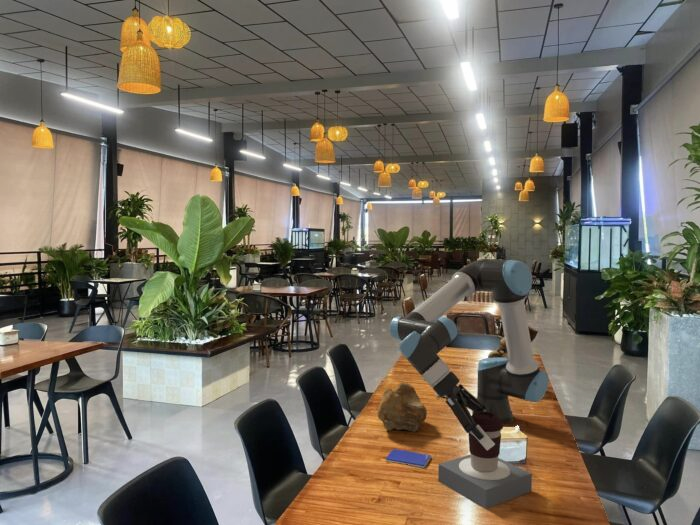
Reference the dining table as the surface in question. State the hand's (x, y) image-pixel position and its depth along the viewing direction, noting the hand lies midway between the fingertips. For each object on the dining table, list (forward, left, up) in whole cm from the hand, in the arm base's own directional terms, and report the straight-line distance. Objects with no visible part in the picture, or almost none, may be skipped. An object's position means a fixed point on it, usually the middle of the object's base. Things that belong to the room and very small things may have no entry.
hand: (494, 438), depth 146 cm
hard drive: (+8, -27, -15) cm, 32 cm away
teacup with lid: (-47, -72, -14) cm, 87 cm away
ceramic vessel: (-81, -62, -14) cm, 103 cm away
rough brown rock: (-8, -50, -14) cm, 52 cm away
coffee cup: (+1, -2, -9) cm, 9 cm away
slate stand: (+1, -2, -14) cm, 14 cm away
